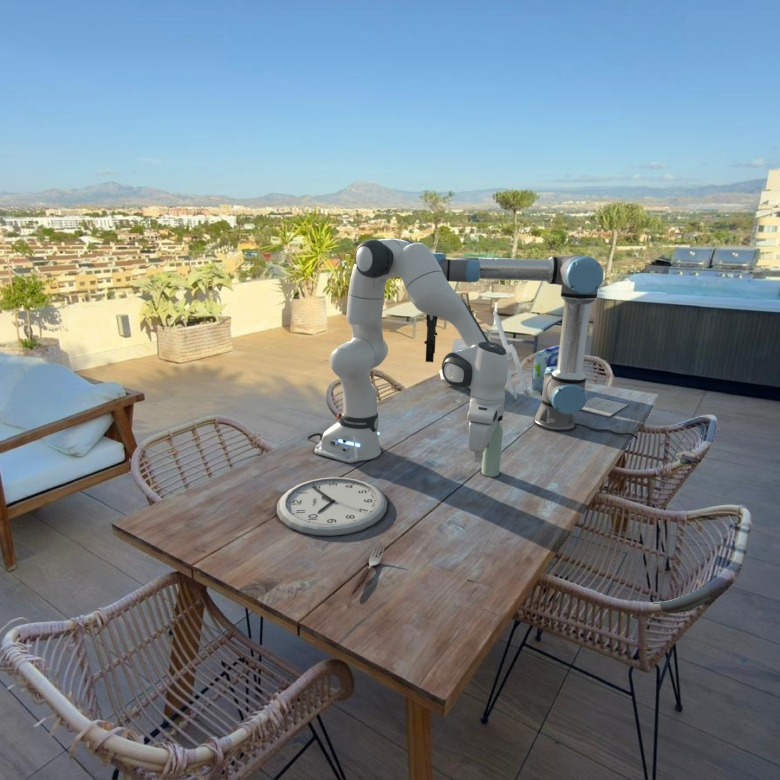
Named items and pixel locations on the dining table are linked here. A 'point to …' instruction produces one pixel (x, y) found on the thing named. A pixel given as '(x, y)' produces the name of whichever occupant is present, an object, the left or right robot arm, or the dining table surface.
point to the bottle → (493, 453)
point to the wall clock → (331, 506)
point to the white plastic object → (511, 354)
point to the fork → (372, 562)
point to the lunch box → (543, 366)
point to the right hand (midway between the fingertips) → (430, 357)
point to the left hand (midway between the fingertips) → (482, 454)
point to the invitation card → (603, 406)
